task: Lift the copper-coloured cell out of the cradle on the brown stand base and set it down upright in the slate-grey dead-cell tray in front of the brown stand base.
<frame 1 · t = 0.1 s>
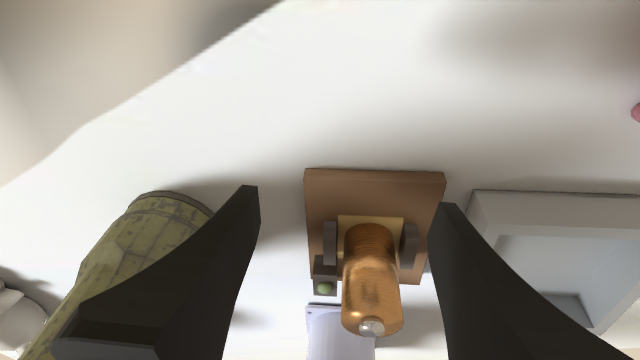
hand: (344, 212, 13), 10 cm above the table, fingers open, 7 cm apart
cell: (368, 240, 27), point 1 cm above the table, touching brown stand base
dead-cell tray: (533, 251, 28), on the table
brown stand base: (368, 227, 28), on the table
thermos: (179, 225, 30), on the table
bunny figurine: (23, 299, 42), on the table
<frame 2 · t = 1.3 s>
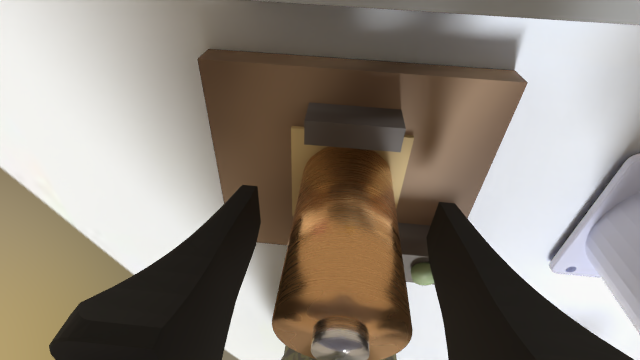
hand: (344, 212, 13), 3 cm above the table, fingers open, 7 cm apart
cell: (346, 181, 15), point 1 cm above the table, touching brown stand base
brown stand base: (347, 163, 16), on the table
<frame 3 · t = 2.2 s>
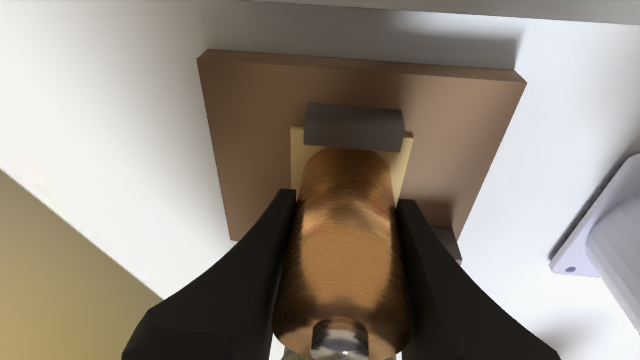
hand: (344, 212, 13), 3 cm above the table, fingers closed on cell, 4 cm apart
cell: (346, 181, 15), point 1 cm above the table, touching brown stand base, gripper
brown stand base: (346, 163, 16), on the table
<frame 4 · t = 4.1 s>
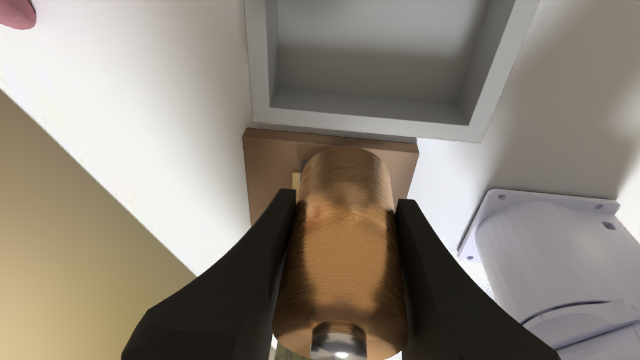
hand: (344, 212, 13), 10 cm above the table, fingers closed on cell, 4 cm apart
cell: (345, 182, 15), point 8 cm above the table, touching gripper
brown stand base: (326, 190, 26), on the table
thermos: (324, 306, 37), on the table
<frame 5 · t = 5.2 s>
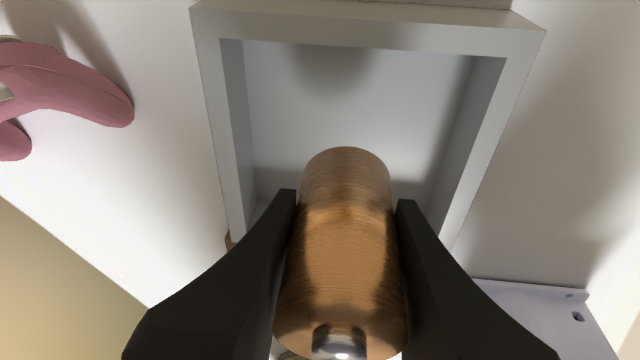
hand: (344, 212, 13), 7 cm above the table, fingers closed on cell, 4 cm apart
cell: (345, 182, 15), point 5 cm above the table, touching gripper
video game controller: (50, 89, 19), on the table
dead-cell tray: (348, 128, 19), on the table
when the fingers open (5 cm above the table, at t = 6.0 s): cell drops 2 cm, resting on dead-cell tray.
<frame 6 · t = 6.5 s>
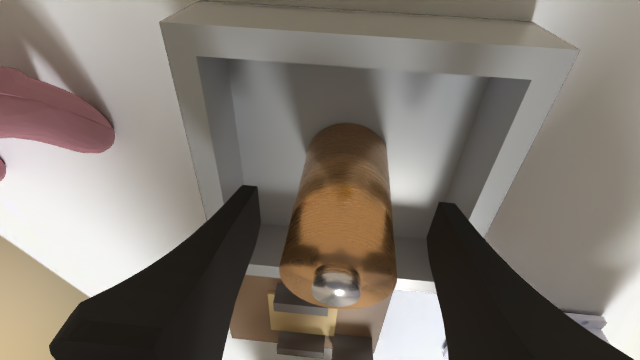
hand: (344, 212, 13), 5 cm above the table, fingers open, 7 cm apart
cell: (346, 158, 17), point 1 cm above the table, touching dead-cell tray
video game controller: (23, 109, 18), on the table
dead-cell tray: (347, 150, 17), on the table
brown stand base: (304, 299, 26), on the table
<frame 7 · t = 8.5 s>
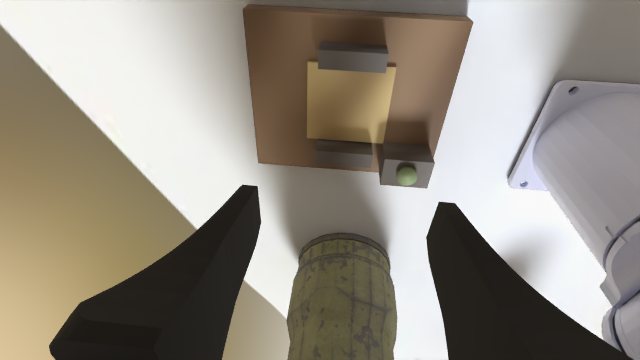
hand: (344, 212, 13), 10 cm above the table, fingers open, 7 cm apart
brown stand base: (348, 96, 21), on the table
thermos: (343, 261, 32), on the table
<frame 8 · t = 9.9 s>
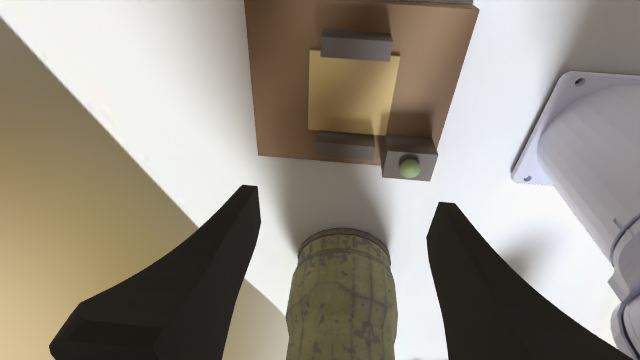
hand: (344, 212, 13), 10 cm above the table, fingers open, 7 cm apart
brown stand base: (350, 86, 21), on the table
thermos: (343, 257, 32), on the table
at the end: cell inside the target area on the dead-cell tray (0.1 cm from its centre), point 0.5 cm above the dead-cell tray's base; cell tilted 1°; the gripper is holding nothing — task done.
